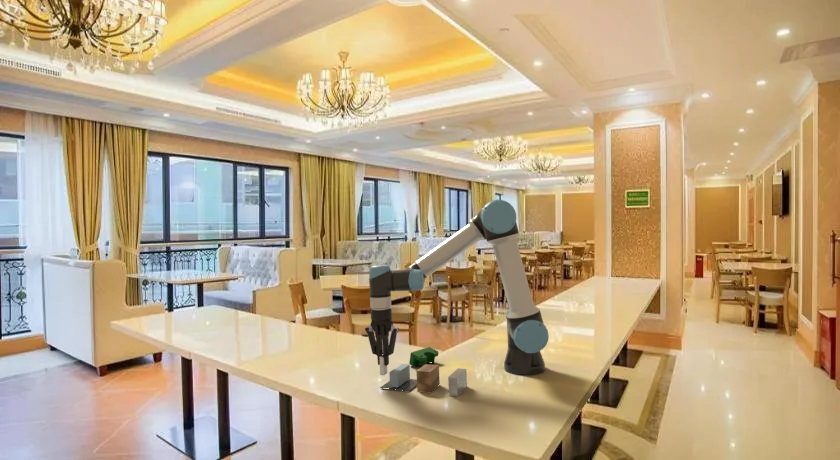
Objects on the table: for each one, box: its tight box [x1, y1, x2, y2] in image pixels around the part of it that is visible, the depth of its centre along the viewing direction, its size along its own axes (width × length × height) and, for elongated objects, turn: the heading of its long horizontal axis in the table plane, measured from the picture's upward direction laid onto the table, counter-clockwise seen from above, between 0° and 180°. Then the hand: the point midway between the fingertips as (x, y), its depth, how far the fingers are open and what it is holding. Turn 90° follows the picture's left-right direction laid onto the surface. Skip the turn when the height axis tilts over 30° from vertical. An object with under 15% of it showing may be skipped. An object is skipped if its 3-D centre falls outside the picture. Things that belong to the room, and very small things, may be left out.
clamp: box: [408, 346, 439, 368], centre depth 183 cm, size 12×6×9 cm, turn 132°
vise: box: [379, 367, 468, 397], centre depth 155 cm, size 28×11×6 cm, turn 67°
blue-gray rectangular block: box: [388, 363, 411, 388], centre depth 159 cm, size 3×10×5 cm, turn 157°
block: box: [415, 363, 441, 393], centre depth 155 cm, size 5×8×7 cm, turn 156°
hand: (383, 374), depth 162 cm, fingers closed
